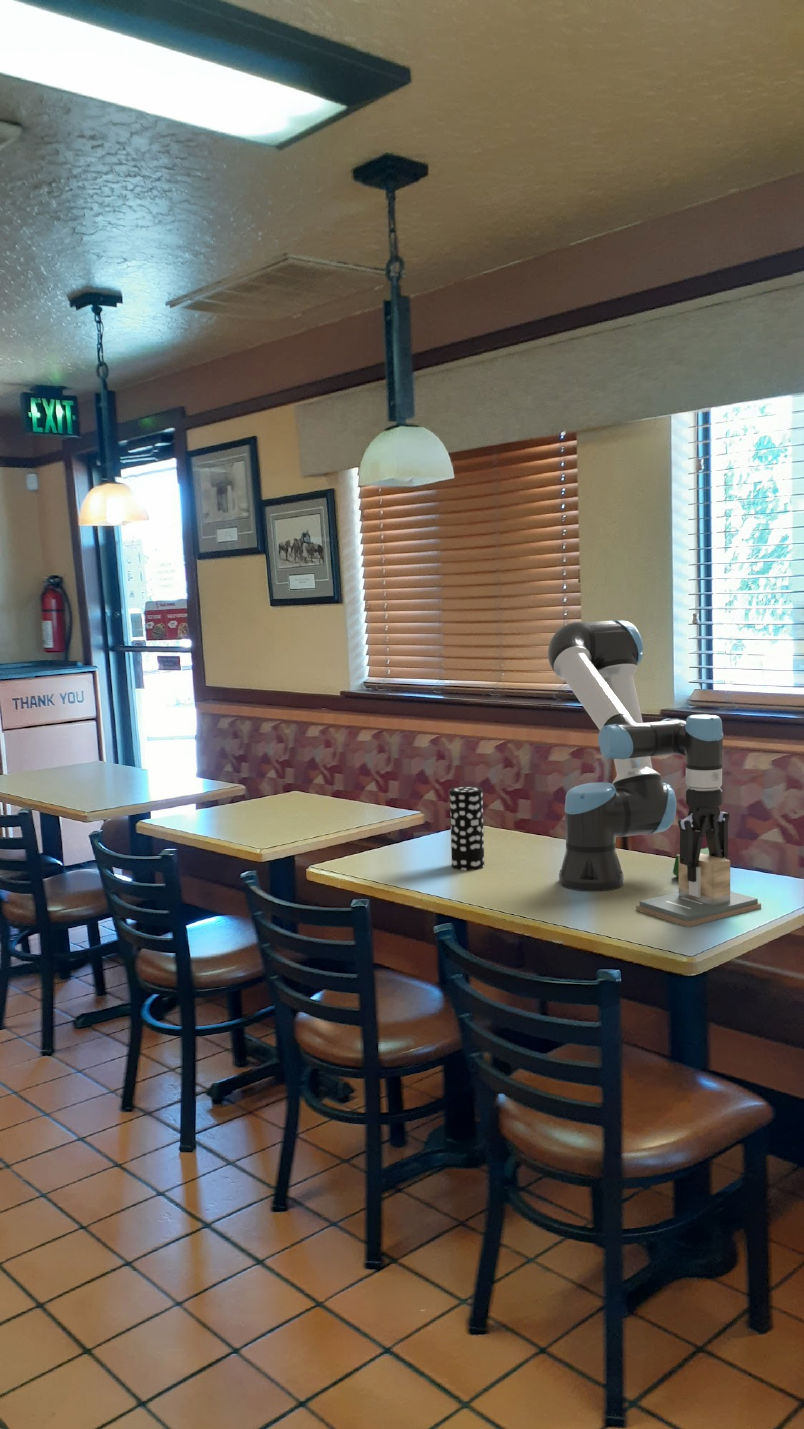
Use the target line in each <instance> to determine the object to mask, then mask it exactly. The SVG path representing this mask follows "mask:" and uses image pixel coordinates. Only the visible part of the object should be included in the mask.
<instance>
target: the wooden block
mask: <svg viewBox="0 0 804 1429" xmlns="http://www.w3.org/2000/svg"><path fill="white" fill-rule="evenodd" d="M677 855H678V854H677ZM678 860H679V877H678V892H679V896H682V897H686V898H689V899H693V900H696V901H700V902H703V903H706V904H710V905H713V906H715V905H719V904H723V903H727V902H730V891H731V860H730V859H727V858H725V859H723V858H718V857H714V856H710V855H706V854H702V853H700V857H699V862H698V867H701V897H695V896H692V895H689V881H688V879H687V866H686V865H684V864H681V863H680V855H678ZM692 861H693V860H692Z"/></svg>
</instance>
